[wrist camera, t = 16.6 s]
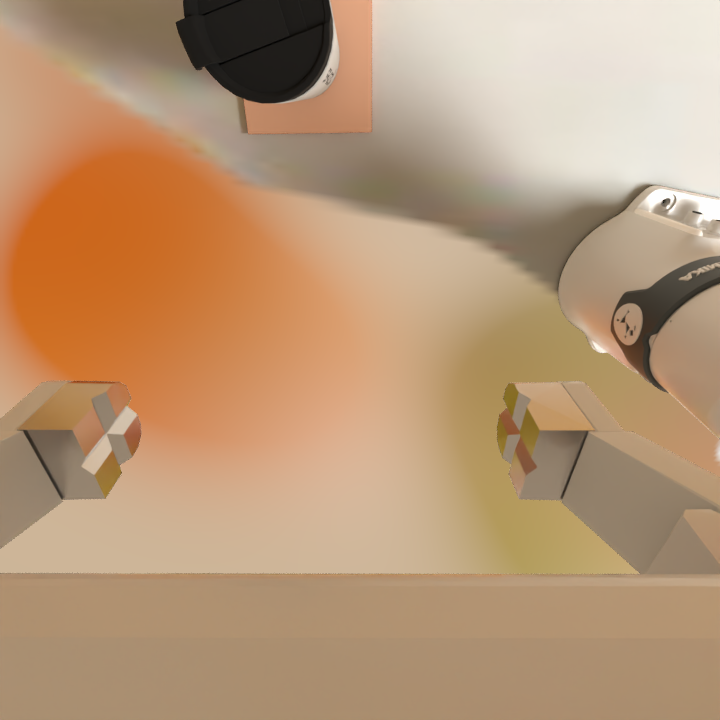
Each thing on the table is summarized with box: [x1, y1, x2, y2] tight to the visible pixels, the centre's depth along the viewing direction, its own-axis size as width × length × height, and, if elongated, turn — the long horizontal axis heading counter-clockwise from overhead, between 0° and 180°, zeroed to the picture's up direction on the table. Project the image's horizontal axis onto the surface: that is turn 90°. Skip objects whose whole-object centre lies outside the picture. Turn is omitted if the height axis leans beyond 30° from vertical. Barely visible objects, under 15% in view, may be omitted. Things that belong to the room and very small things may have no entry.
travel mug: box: [176, 0, 340, 104], centre depth 26 cm, size 6×7×20 cm
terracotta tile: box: [243, 0, 372, 134], centre depth 34 cm, size 11×11×1 cm
